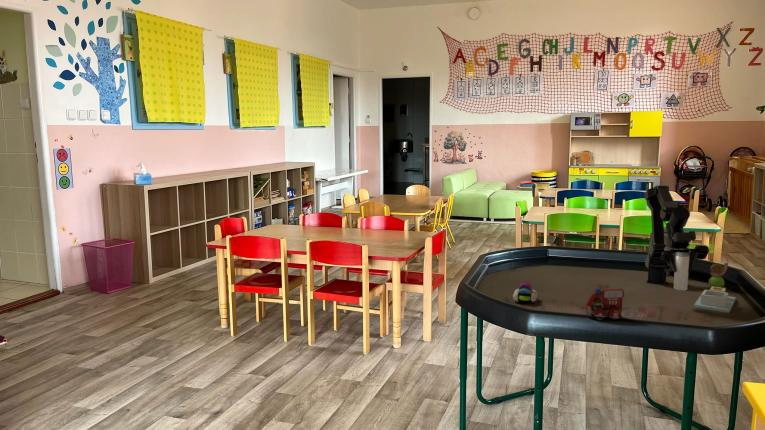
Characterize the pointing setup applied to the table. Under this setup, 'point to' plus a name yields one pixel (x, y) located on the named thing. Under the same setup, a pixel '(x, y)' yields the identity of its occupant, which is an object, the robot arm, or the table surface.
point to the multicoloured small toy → (525, 292)
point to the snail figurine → (717, 275)
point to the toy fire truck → (605, 302)
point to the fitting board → (715, 300)
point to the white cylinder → (681, 271)
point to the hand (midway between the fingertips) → (682, 271)
